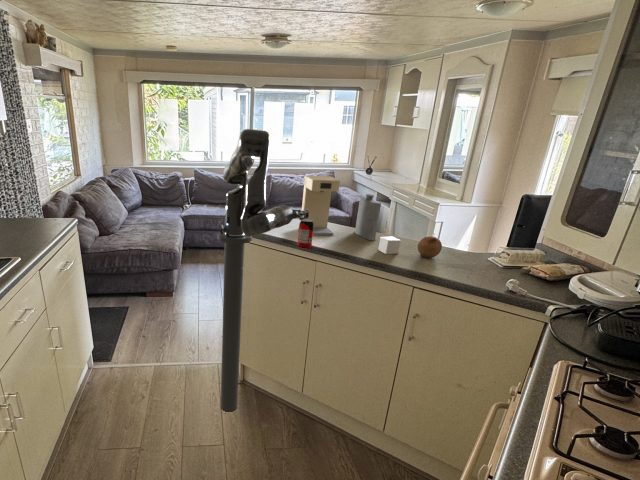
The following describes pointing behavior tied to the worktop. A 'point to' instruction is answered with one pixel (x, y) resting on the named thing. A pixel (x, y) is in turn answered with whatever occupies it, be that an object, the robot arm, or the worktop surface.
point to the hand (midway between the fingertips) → (297, 210)
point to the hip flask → (367, 217)
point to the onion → (429, 246)
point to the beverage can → (305, 233)
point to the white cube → (389, 245)
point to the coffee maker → (319, 201)
